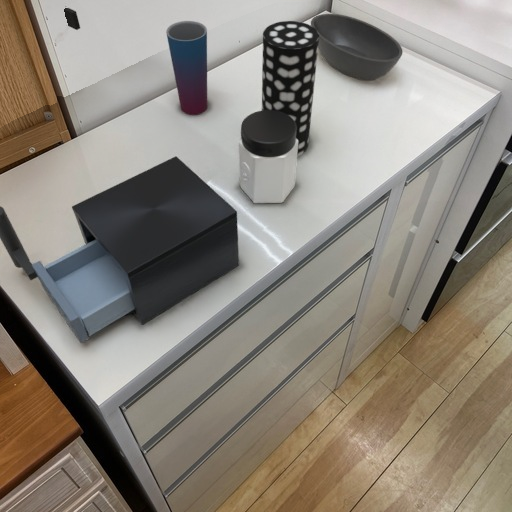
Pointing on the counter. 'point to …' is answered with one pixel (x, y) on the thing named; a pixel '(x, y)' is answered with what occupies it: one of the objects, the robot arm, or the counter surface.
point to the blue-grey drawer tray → (76, 282)
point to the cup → (189, 64)
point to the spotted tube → (290, 73)
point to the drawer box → (163, 234)
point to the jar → (268, 156)
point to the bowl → (356, 46)
